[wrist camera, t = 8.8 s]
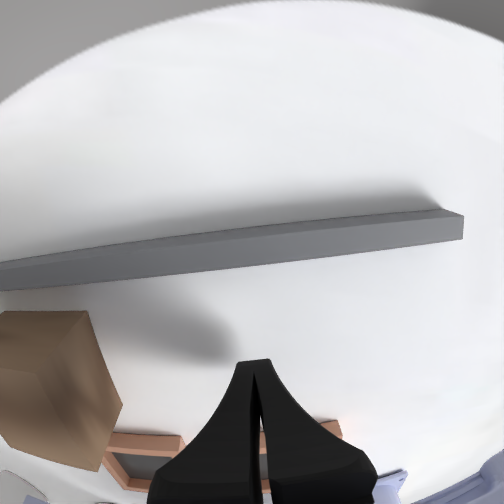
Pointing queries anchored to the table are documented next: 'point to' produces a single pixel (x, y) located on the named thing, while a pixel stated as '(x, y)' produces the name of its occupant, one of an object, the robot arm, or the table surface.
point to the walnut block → (55, 388)
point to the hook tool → (233, 249)
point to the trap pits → (163, 457)
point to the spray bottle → (16, 489)
